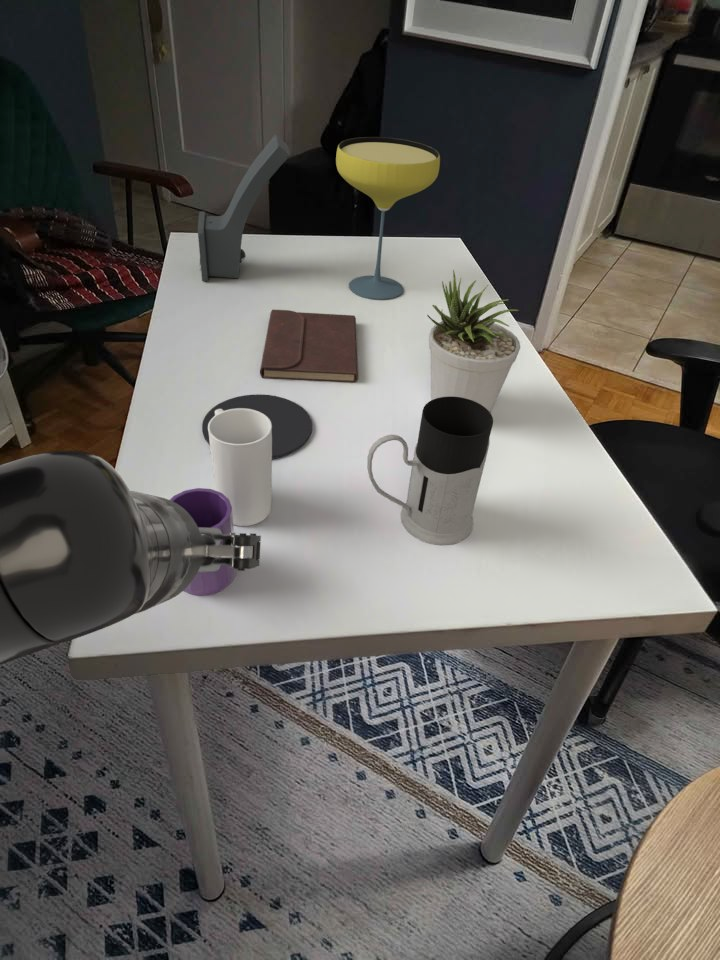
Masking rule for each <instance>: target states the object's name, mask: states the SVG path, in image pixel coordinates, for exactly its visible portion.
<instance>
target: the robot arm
mask: <svg viewBox="0 0 720 960" xmlns="http://www.w3.org/2000/svg"><path fill="white" fill-rule="evenodd" d="M9 362H10V361H9V350H8V347H7V343H6V340H5V337H4V335H3V331H2V329H0V381H1V380H2V379H3V378H4V376H5V375H6V372H7V370H8V367H9ZM222 541H223V545H221V542H222ZM261 541H262V536H261V535H258V534H257V533H249V534H247V533H243V532H242V533H241V532H239V534H236V532H234V533H229V535H227V534H222V532H221V530H220V529H219V528H205V527H198V526H197V524H196V523H195V521H194V520H193V518H192V517H191V516H190V514H189V513H188V512H187V511H186V510H185V509H184V508H182V507H181V506H180V505H178V504H176V503H175V502H173V501H170V499H168V498H165V497H160V496H158V495H157V496H156V495H152V494H148V493H143V492H139V491H135V490H130V488H129V487H128V485H127V484H126V482H125V481H124V479H123V477H122V476H121V474H119V472H118V471H117V470H116V469H115V468H114V466H112V465H111V463H109V462H108V461H106V460H105V459H104V458H103V457H101V456H99V455H97V454H94V453H91V452H88V451H84V450H83V451H82V450H71V449H70V450H53V451H46V452H41V453H36V454H32V455H29V456H25V457H22V458H17V459H15V460H12V461H9V462H6V463H3V464H0V665H1V666H2V665H4V664H6V663H9V662H12V661H15V660H17V659H21V658H23V657H26V656H29V655H32V654H35V653H38V652H41V651H43V650H46V649H49V648H52V647H55V646H58V645H60V644H63V643H67V642H70V641H72V640H73V641H74V640H75V639H78V638H81V637H84V636H87V635H89V634H92V633H95V632H98V631H101V630H103V629H105V628H108V627H110V626H113V625H115V624H117V623H120V622H122V621H124V620H126V619H129V618H131V617H132V616H134V615H137V614H140V613H143V612H145V611H146V612H147V611H148V610H150V609H152V608H154V607H156V606H159V605H161V604H163V603H165V602H167V601H170V600H172V599H174V598H175V597H177V596H179V595H180V594H181V593H183V592H185V591H184V590H185V589H186V588H187V587H188V585H189V584H190V583H191V582H192V580H193V579H194V577H195V576H196V574H197V573H198V572H216V571H218V570H219V568H220V566H221V565H227V566H230V567H231V568H234V569H236V570H237V571H238V572H241V571H242V572H245V571H246V570H251V569H254V568H257V567H259V566H260V564H261V563H260V562H261V543H262V542H261Z"/></svg>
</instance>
